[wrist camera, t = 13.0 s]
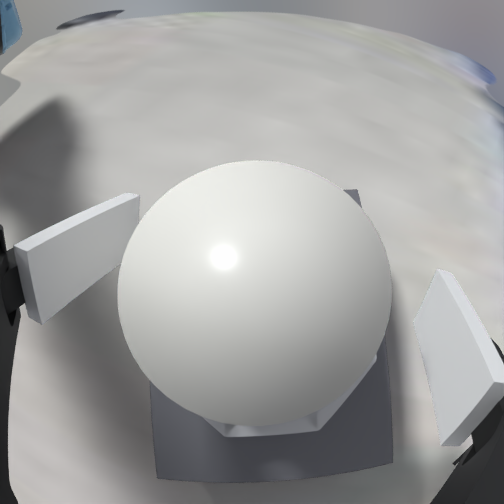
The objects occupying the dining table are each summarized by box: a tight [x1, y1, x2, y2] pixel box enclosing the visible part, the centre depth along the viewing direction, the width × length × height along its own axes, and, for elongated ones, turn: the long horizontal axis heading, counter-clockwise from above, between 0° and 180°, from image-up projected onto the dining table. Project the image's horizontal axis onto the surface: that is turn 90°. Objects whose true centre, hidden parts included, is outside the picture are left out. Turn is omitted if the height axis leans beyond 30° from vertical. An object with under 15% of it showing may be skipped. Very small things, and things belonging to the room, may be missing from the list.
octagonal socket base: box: [150, 189, 393, 483], centre depth 20 cm, size 18×14×8 cm
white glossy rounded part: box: [117, 160, 392, 426], centre depth 13 cm, size 7×7×11 cm
